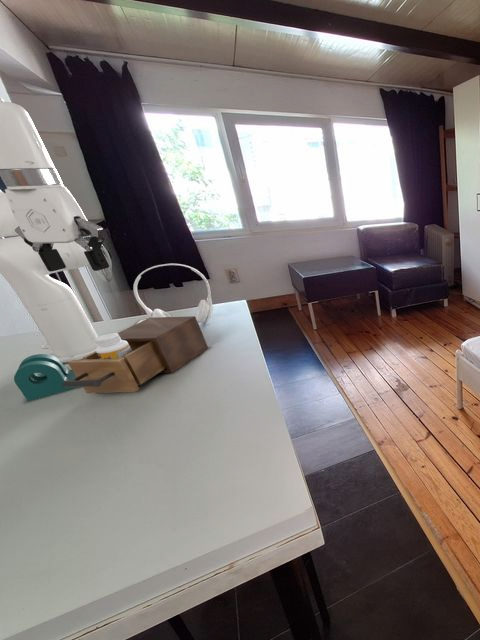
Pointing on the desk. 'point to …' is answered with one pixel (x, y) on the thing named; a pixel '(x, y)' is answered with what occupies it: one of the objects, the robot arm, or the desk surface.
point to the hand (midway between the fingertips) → (79, 269)
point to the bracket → (42, 376)
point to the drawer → (117, 370)
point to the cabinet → (169, 339)
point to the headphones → (201, 316)
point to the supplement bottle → (112, 347)
